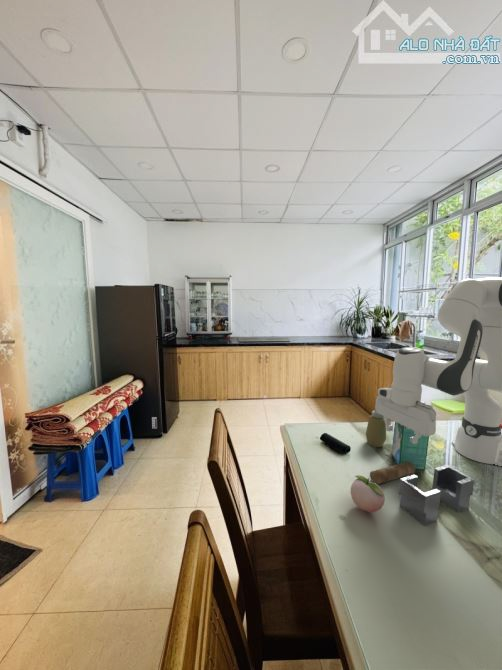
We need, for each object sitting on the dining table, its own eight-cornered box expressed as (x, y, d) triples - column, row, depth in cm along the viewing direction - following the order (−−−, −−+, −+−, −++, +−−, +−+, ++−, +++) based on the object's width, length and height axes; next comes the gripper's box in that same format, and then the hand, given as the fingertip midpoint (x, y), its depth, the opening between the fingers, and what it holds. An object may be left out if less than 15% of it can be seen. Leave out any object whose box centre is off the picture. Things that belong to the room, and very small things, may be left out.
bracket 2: (457, 512, 80) (461, 484, 79) (431, 494, 87) (434, 468, 86) (470, 507, 82) (474, 479, 81) (443, 490, 89) (447, 464, 88)
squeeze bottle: (386, 442, 119) (390, 403, 117) (384, 451, 112) (388, 409, 110) (366, 437, 123) (370, 399, 121) (363, 445, 116) (366, 404, 114)
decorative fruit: (342, 506, 81) (345, 475, 80) (358, 495, 86) (360, 465, 85) (373, 528, 73) (376, 494, 72) (387, 514, 78) (391, 482, 77)
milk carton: (425, 469, 100) (433, 404, 97) (398, 466, 102) (405, 402, 99) (415, 456, 109) (422, 396, 106) (391, 453, 111) (397, 393, 108)
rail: (410, 475, 98) (403, 464, 101) (417, 470, 96) (409, 459, 99) (374, 486, 92) (368, 473, 95) (381, 481, 90) (374, 469, 92)
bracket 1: (411, 501, 84) (414, 474, 83) (437, 520, 77) (440, 491, 75) (397, 506, 82) (400, 478, 81) (422, 526, 74) (425, 496, 73)
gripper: (443, 407, 82) (438, 450, 83) (387, 386, 101) (383, 422, 102) (429, 409, 79) (423, 453, 81) (374, 387, 98) (370, 424, 100)
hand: (400, 436), depth 92 cm, fingers open, 8 cm apart
